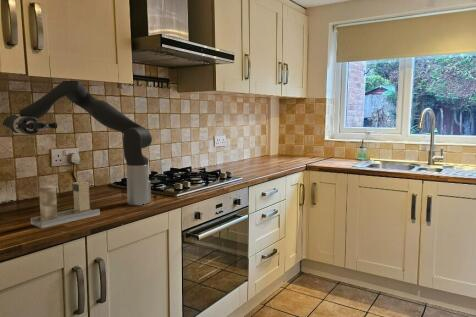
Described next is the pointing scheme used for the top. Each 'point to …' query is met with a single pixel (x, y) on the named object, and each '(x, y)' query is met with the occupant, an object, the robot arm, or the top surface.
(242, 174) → the top surface
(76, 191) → the rail
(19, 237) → the top surface
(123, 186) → the top surface
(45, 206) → the beige tall rectangular block
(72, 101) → the robot arm
